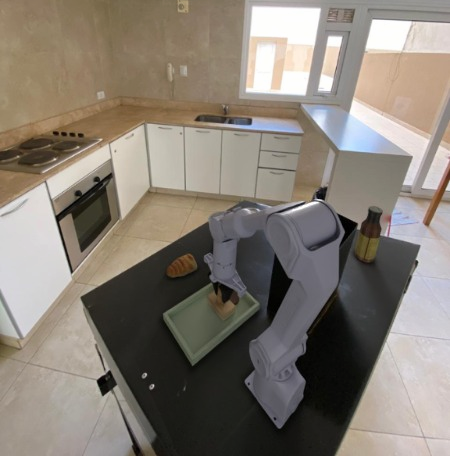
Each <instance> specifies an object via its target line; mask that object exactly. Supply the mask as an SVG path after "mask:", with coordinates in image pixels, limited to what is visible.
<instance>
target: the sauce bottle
mask: <svg viewBox="0 0 450 456" xmlns="http://www.w3.org/2000/svg"><path fill="white" fill-rule="evenodd" d="M382 215H383V208H380V207H379V206H376V205H370V206H368V209H367V215H366V218H365V219H364V220H363V221H361V224H360V228H359V231H358V234H357V235H358V236H357V240H356V244H355V248H354V255H355V257H356V259H358V260H359V261H360V262H361V261H362V262H363V263H366V264H368V263H373V261H374V259H375V257H376V253H377V250H378V247H379V243H380V238H381V233H382V229H383V228H382V226H381V217H382Z"/></svg>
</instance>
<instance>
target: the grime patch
mask: <svg viewBox="0 0 450 456" xmlns="http://www.w3.org/2000/svg"><path fill="white" fill-rule="evenodd" d="M230 301H231V302H232V303H233V304H234V305H237V304H238V302H239V296H238V293H237V292H236V291H233V293H232V295H231V297H230Z"/></svg>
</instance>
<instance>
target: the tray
mask: <svg viewBox="0 0 450 456" xmlns="http://www.w3.org/2000/svg"><path fill="white" fill-rule="evenodd" d="M234 291H236V290H234ZM213 292H214V288H213V285H212V282H211V281H210V283H209V284H207V285H205V286H203V287H202V288H200V289H199V290H197V291H196V292H194V293H192V294H191V295H190V296H188V297H187V298H185V299H184V300H182V301H181V302H179V303H177V304H176V305H174V306H173V307H171V308H170V309H168V310H166V311H165V312H163V313H162V318H163V321H164V322H165V324H166V326H167V327H168V329H169V330H170V332H171V335H173V337H174V339H175V341H176V342H177V344H178V345H179V347H180V348H181V350H182V352H183V353H184V355H185V357H186V358H187V360H188V361H189V363H190V364H191V366H192V367H193V366H194V365H196V364H197V363H198V362H199V361H200V360H202V359H203V358H204V357H205V356H206V355H207V354H209V353H210V352H211V351H212V350H213V349H214V348H215V347H217V346H218V345H219V344H221V342H223V341H224V340H225V339H226V338H227V337H229V336H230V335H231V334H232V333H233V332H234V331H236V330H237V329H238V328H239V327H241V325H243V324H244V323H245V322H247V320H249V319H250V318H251V317H253V315H255V314H256V313H257V312H258V311H259V310H260V305H261V304H260V302H258V300H257V299H255V298H254V297H253V296H252V295H251V294H250V293H249V292H248V291H247V290H246V294H245V295H244V296H242V297H241V298H240V297H239V302H238V304H237V305H235V313H234V314H233V315H231V316H230V317H229V318H227V319H226V320H225V321H224V322H223V321H222V319H221V318H220V317H219V316H218V315H217V314H216V313H215V311H214V310H213V309H212V308H211V307H210V306H209V305H208V303H207V296H208V295H210V294H211V293H213ZM236 292H237V291H236ZM237 293H238V292H237Z"/></svg>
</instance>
